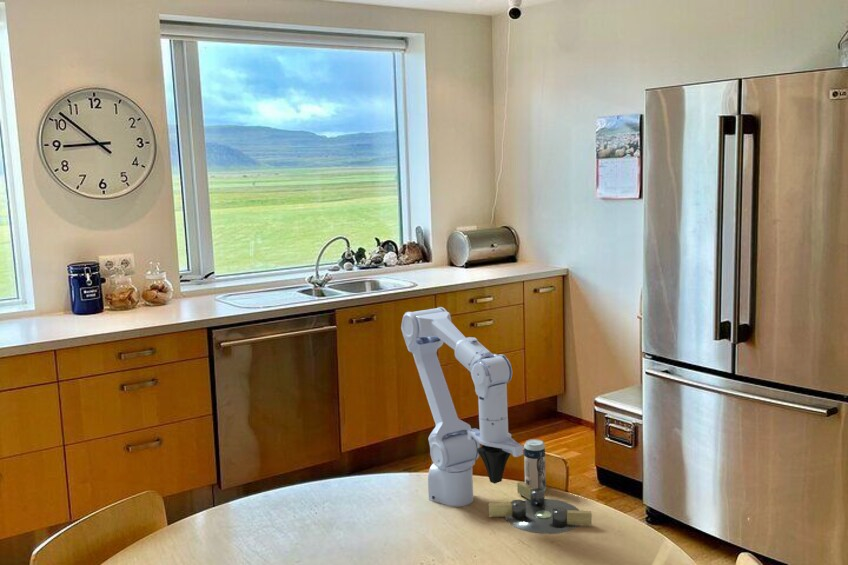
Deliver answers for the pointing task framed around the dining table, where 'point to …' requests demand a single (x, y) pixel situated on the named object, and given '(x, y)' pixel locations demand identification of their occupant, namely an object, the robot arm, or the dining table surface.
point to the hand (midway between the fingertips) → (495, 481)
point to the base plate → (542, 518)
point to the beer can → (535, 464)
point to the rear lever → (531, 494)
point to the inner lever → (508, 509)
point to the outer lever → (570, 517)
